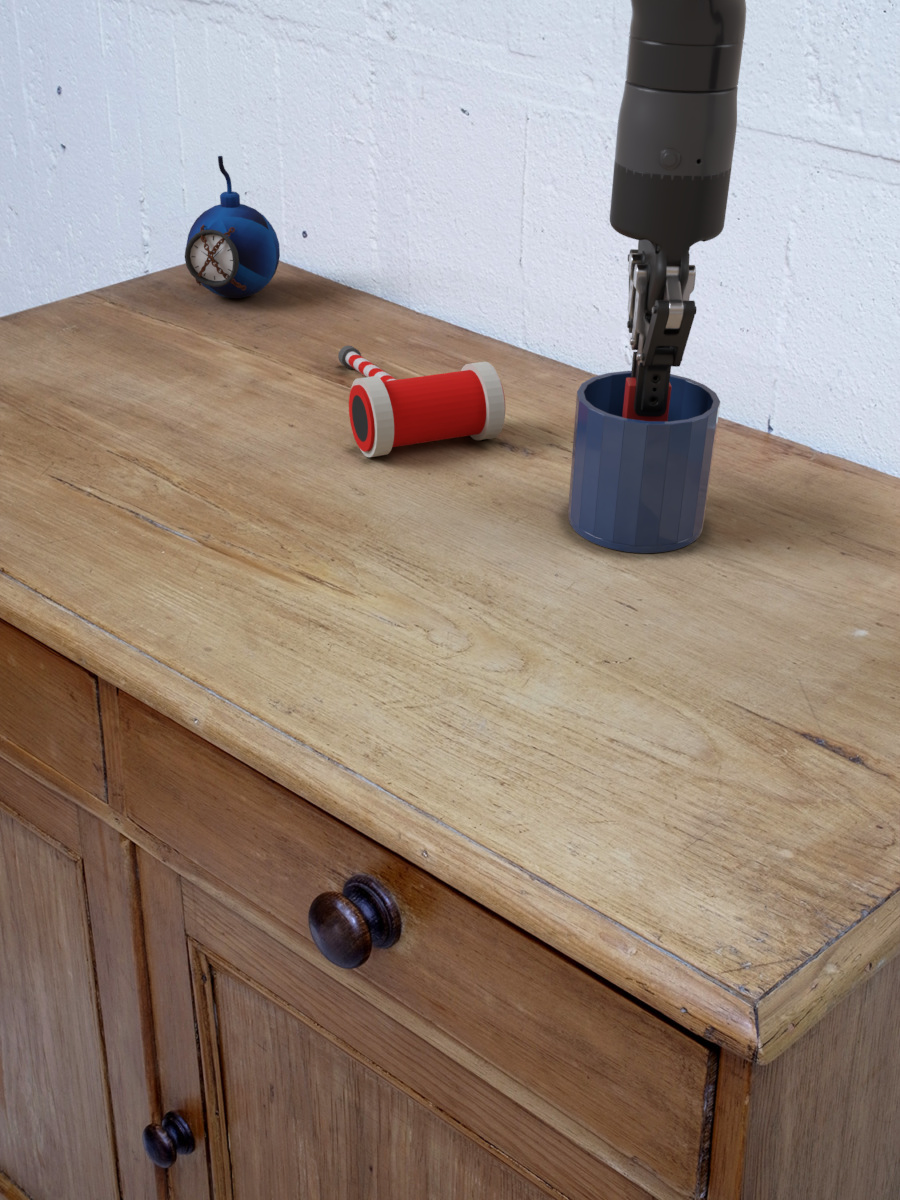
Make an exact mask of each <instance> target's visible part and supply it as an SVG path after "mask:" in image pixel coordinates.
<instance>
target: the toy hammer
mask: <svg viewBox="0 0 900 1200" xmlns="http://www.w3.org/2000/svg"><path fill="white" fill-rule="evenodd" d="M337 357H338V361H339V362H340V364H341V365H342V366H344V367H345V368H347V369H352V370H353V369H354V370H356V371H357V372H359V373H360V374H361V375H363V376H364V377H358V378H355V379H354V380H353V382H352V384H351V387H350V390H349V391H350V392H349V395H348V415H349V416H348V417H349V422H350V427H351V431H352V435H353V437H354V440H355V443H356V445H357V447H358V448H359V449H360V451H361V453H362V454H363V456H364V457H367V458H374V457H381V456H387V455H388V454H390V453H391V451H392V449H393V448H397V447H403V446H410V445H416V444H423V443H429V442H435V441H437V442H438V441H442V440H449V439H455V438H463V437H467V436H470V437H471V438H472V439H473V440H475V441H482V440H490V439H495V438H497V437H499V436H500V435H501V432H502V430H503V428H504V424H505V418H506V397H505V396H506V395H505V391H504V387H503V383H502V381H501V379H500V376H499V374H498V372H497V370H496V368H495V367H494V366H493V365H492V364H491V363H490V362H488V361H478V362H471V363H466V364H464V365H463V367H462V368H461V370H458V371H452V372H451V371H450V372H445V373H436V374H429V375H422V376H413V377H407V378H399V379H397V378H396V377H394V376H393V375H391V374H389V373H388V372H387V371H385V370H383V369H382V368H380V367H378V366H377V365H376V364H374V363H372V362H371V361H369V360H368V359H366V358H365V357H363V356H362V353H361V352H360V351H359V349H357V347H356V348H355V347H354V346H353V345H344V346H343V347H342V348H340V350H339V351H338V354H337Z"/></svg>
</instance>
